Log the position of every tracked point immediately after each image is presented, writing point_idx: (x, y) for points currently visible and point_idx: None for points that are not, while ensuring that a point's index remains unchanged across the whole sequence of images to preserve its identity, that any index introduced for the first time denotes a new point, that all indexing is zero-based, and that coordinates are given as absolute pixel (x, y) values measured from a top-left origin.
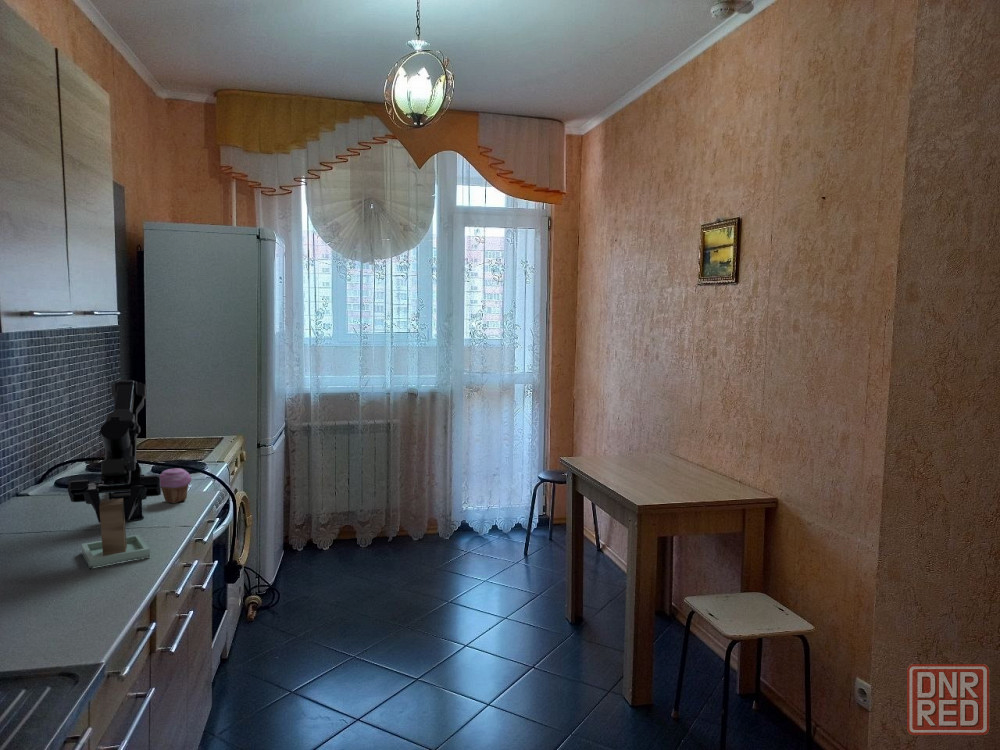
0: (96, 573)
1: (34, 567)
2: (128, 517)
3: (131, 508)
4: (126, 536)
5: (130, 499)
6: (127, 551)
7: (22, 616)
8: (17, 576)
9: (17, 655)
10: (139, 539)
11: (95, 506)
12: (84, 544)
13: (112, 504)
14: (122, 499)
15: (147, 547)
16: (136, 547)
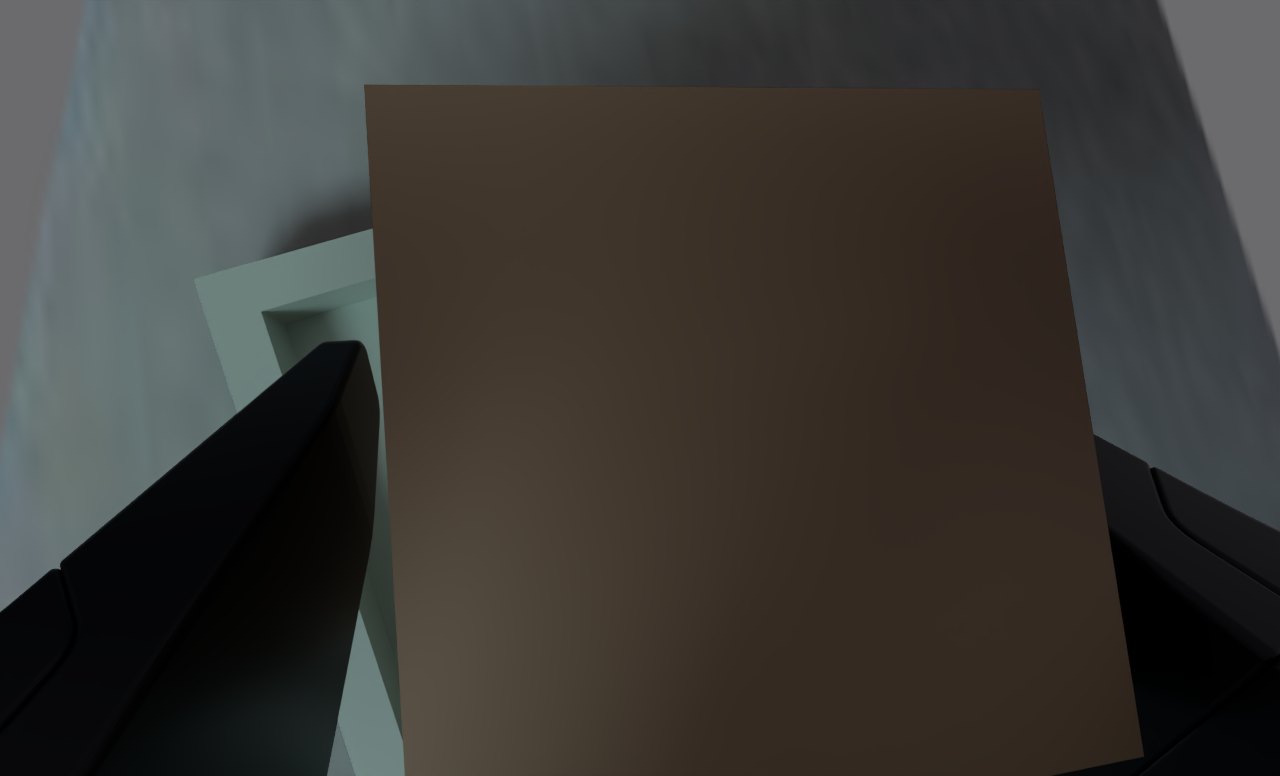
0: (648, 62)
1: (1130, 350)
2: (327, 346)
3: (192, 466)
4: None
5: (81, 708)
6: None
7: None
8: (1176, 192)
9: None
10: (352, 656)
11: (1143, 473)
12: None
13: (679, 127)
14: (415, 693)
15: (223, 333)
16: (391, 561)
